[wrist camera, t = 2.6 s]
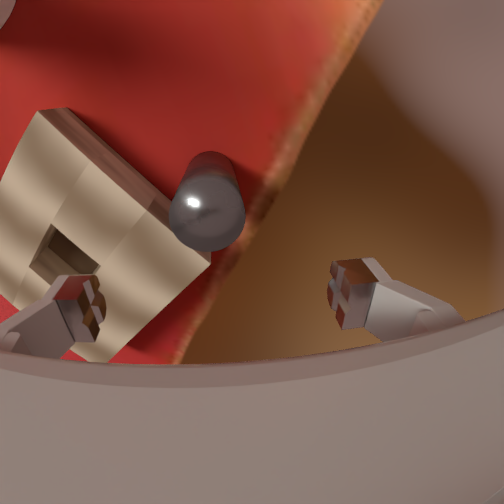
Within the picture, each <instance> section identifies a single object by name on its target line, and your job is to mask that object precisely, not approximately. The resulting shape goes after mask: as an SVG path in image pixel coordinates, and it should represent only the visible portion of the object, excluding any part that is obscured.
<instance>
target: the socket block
mask: <svg viewBox="0 0 504 504" xmlns="http://www.w3.org/2000/svg"><path fill="white" fill-rule="evenodd" d="M171 203H172V201H171V200H169V199H168V198H167V197H166V196H165V195H164V194H163V193H161V192H160V191H159V190H158V189H157V188H156V187H155V186H154V185H152V184H151V183H150V182H149V181H148V180H147V179H146V178H145V177H143V176H142V175H141V174H140V173H139V172H138V171H137V170H136V169H134V168H133V167H132V166H131V165H130V164H129V163H128V162H127V161H125V160H124V159H123V158H122V157H121V156H120V155H119V154H118V153H117V152H115V151H114V150H113V149H112V148H111V147H110V146H109V145H108V144H107V143H105V142H104V141H103V140H102V139H101V138H100V137H99V136H98V135H97V134H96V133H94V132H93V131H92V130H91V129H90V128H89V127H88V126H87V125H86V124H85V123H83V122H82V121H81V120H80V119H79V118H78V117H77V116H76V115H75V114H74V113H72V112H71V111H70V110H69V109H68V108H56V109H47V110H39V111H37V112H36V114H35V115H34V117H33V119H32V120H31V122H30V124H29V125H28V127H27V129H26V131H25V133H24V134H23V136H22V138H21V140H20V142H19V144H18V146H17V148H16V150H15V152H14V154H13V156H12V158H11V160H10V162H9V164H8V166H7V168H6V171H5V173H4V175H3V177H2V180H1V182H0V294H1V295H2V296H4V297H5V298H6V299H7V300H8V301H9V302H10V303H11V304H13V305H14V306H15V307H16V308H17V309H18V310H19V311H21V310H22V309H24V308H26V307H27V306H29V305H30V304H32V303H34V302H35V301H37V300H41V299H42V298H43V296H44V295H45V294H46V292H47V291H48V289H49V288H50V287H51V285H52V284H53V283H54V281H55V280H56V278H57V277H58V276H60V275H83V274H95V275H96V276H97V277H98V280H99V283H100V287H99V291H100V292H101V293H102V294H103V295H104V298H105V301H106V307H107V309H106V317H105V319H104V321H103V322H102V323H101V324H99V328H100V331H99V334H98V336H97V339H96V341H95V343H89V342H75V344H74V345H73V346H72V347H71V348H70V349H71V350H72V351H74V352H75V353H77V354H78V355H80V356H81V357H83V358H84V359H86V360H87V361H89V362H99V363H107V362H108V361H109V360H110V359H111V358H112V357H113V356H114V355H115V354H116V353H117V352H118V351H119V350H120V349H121V348H122V347H123V346H125V345H126V344H127V343H128V342H129V341H130V340H131V339H132V338H133V337H134V336H135V335H136V334H137V333H138V332H139V331H140V330H141V329H142V328H143V327H144V326H145V325H146V324H148V323H149V322H150V321H151V320H152V319H153V318H154V317H155V316H156V315H157V314H158V313H159V312H160V311H161V310H162V309H163V308H164V307H165V306H167V305H168V304H169V303H170V302H171V301H172V300H173V299H174V298H175V297H176V296H177V295H178V294H179V293H180V292H181V291H182V290H184V289H185V288H186V287H187V286H188V285H189V284H190V283H191V282H192V281H193V280H194V279H195V278H196V277H198V276H199V275H200V274H201V273H202V272H203V271H204V270H205V269H206V268H207V267H208V266H209V265H210V264H211V252H202V251H197V250H193V249H191V248H189V247H187V246H185V245H184V244H183V243H181V242H180V241H179V240H178V239H177V238H176V236H175V235H174V233H173V231H172V229H171V227H170V223H169V209H170V205H171Z"/></svg>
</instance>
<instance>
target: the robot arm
mask: <svg viewBox="0 0 504 504" xmlns="http://www.w3.org/2000/svg"><path fill="white" fill-rule="evenodd" d="M330 273H331V275H332V277H333V278H332V279H331V280H330V281H329V283H328V289H327V295H328V301H329V305H330V307H331V309H333V310H334V311H336V319H337V321H338V323H339V325H340V327H341V329H342V330H344V329H352V328H360V327H364V328H365V329H366V330H368V331H369V332H370V333H372V334H373V335H375V336H376V337H377V338H379V339H380V340H381V341H383V343H378V344H372V345H368V346H362V347H356V348H351V349H345V350H339V351H333V352H327V353H319V354H312V355H305V356H297V357H288V358H280V359H269V360H259V361H246V362H232V363H215V364H214V363H213V364H179V365H151V364H117V363H99V362H86V361H74V360H64V359H59V358H61V357H62V356H63V355H64V354H65V353H66V352H67V351H68V350H69V349H70V348H71V347H72V346H73V345H74V344H75V342H89V343H95V341H96V339H97V336H98V334H99V331H100V328H99V324H101V323H102V322H103V321H104V319H105V317H106V309H107V307H106V301H105V298H104V295H103V294H102V293H101V292H100V291H99V287H100V283H99V280H98V277H97V276H96V275H95V274H83V275H60V276H58V277H57V278H56V280H55V281H54V283H53V284H52V285H51V287H50V288H49V289H48V291H47V292H46V294H45V295H44V296H43V298H42V299H41V300H37V301H35V302H34V303H32V304H30V305H29V306H27V307H26V308H24V309H22V310H21V311H19V312H18V313H16V314H14V315H13V316H11V317H10V318H8V319H7V320H5V321H4V322H2V323H0V504H504V309H502V310H499V311H496V312H493V313H491V314H487V315H485V316H481V317H479V318H475V319H472V320H469V321H465V320H464V319H463V318H462V317H461V316H460V315H459V313H458V312H457V311H456V310H455V309H454V308H453V306H452V305H450V304H449V303H446V302H444V301H442V300H440V299H438V298H436V297H433V296H431V295H429V294H427V293H424V292H422V291H420V290H418V289H416V288H414V287H411V286H409V285H407V284H405V283H402V282H400V281H398V280H392V278H391V277H390V276H389V275H388V274H387V273H386V271H385V270H384V269H383V268H382V267H381V266H380V264H379V263H378V262H377V261H376V260H375V259H374V258H372V257H368V258H360V259H349V260H339V261H332V264H331V267H330Z"/></svg>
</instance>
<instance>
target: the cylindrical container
mask: <svg viewBox="0 0 504 504" xmlns="http://www.w3.org/2000/svg"><path fill="white" fill-rule="evenodd" d="M15 2H16V0H0V29H1V28H2V26H3V25H4V24H5V22H6V21H7V19H8V18H9V16H10V14H11V12H12V10H13V8H14V5H15Z"/></svg>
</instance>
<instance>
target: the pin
mask: <svg viewBox="0 0 504 504" xmlns="http://www.w3.org/2000/svg"><path fill="white" fill-rule="evenodd" d="M245 217H246V216H245V208H244V204H243V200H242V197H241V193H240V190H239V186H238V182H237V179H236V175H235V172H234V168H233V165H232V163H231V162H230V160H229V159H228V158H227V157H226V156H225V155H223V154H221V153H219V152H214V151H207V152H203V153H200V154H198V155H197V156H195V157H194V158H193V159H192V160H191V162H190V163H189V165H188V167H187V170H186V172H185V174H184V176H183V178H182V180H181V183H180V185H179V187H178V189H177V191H176V194H175V196H174V198H173V200H172V203H171V205H170V209H169V223H170V227H171V229H172V231H173V233H174V235H175V236H176V238H177V239H178V240H179V241H180V242H181V243H183V244H184V245H185V246H187V247H189V248H191V249H193V250H197V251H202V252H212V251H218V250H221V249H223V248H225V247H227V246H229V245H230V244H232V243H233V242H234V241H235V240H236V239H237V238H238V236H239V235H240V234H241V232H242V230H243V227H244V224H245Z"/></svg>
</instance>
